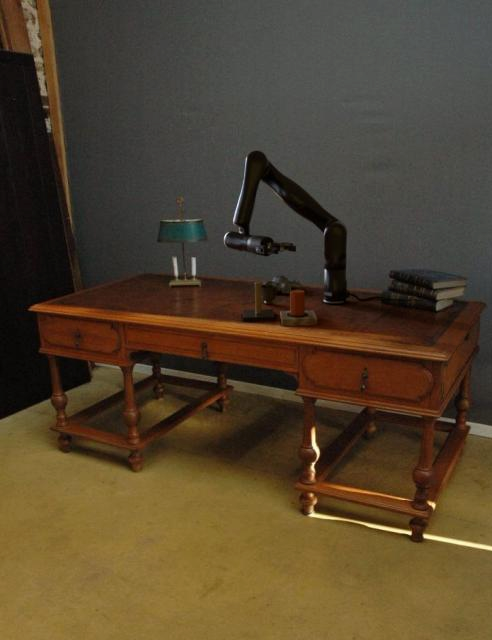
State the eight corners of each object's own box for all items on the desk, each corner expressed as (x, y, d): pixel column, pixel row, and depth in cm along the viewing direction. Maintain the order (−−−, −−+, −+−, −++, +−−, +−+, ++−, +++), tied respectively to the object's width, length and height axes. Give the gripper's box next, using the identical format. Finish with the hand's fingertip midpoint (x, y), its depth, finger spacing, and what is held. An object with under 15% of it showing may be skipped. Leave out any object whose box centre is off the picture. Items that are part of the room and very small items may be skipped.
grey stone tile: (313, 316, 258) (313, 310, 257) (317, 325, 246) (317, 318, 245) (280, 317, 258) (280, 311, 257) (282, 326, 245) (282, 319, 245)
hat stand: (272, 312, 264) (272, 279, 259) (274, 320, 253) (274, 285, 248) (243, 313, 264) (241, 280, 259) (243, 321, 253) (242, 286, 248)
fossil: (279, 277, 312) (297, 263, 300) (291, 297, 313) (309, 285, 300) (253, 289, 302) (270, 276, 290) (265, 310, 303) (282, 298, 290)
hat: (306, 311, 255) (307, 288, 251) (309, 317, 247) (309, 293, 244) (286, 312, 254) (286, 289, 251) (287, 317, 247) (287, 293, 244)
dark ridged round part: (275, 306, 274) (275, 287, 271) (258, 305, 276) (257, 287, 273) (278, 302, 281) (278, 283, 278) (261, 301, 282) (261, 283, 279)
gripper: (245, 237, 254) (271, 241, 242) (274, 233, 262) (301, 238, 250) (246, 257, 257) (271, 262, 245) (274, 253, 265) (301, 257, 253)
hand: (286, 250), depth 247 cm, fingers open, 8 cm apart
